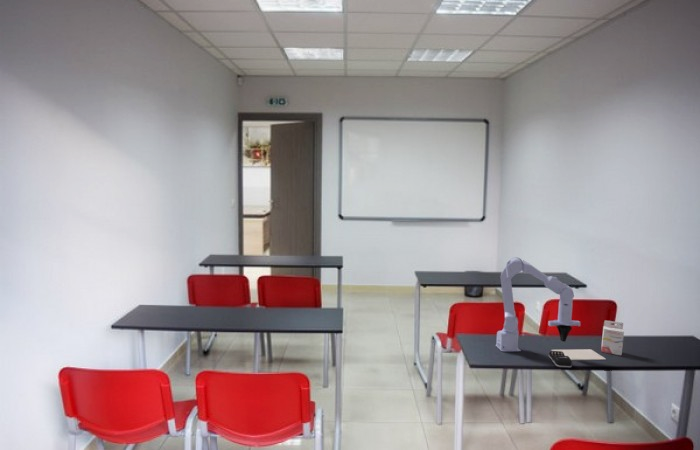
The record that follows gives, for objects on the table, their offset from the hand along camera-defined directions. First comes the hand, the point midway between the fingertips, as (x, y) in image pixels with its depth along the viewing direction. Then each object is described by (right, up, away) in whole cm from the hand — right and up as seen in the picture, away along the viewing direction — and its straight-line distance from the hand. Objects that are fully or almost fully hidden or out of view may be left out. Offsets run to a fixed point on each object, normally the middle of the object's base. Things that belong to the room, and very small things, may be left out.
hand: (562, 340), depth 224 cm
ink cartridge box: (+26, -8, +7) cm, 28 cm away
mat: (+8, -7, +3) cm, 11 cm away
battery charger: (-4, -5, -2) cm, 7 cm away
